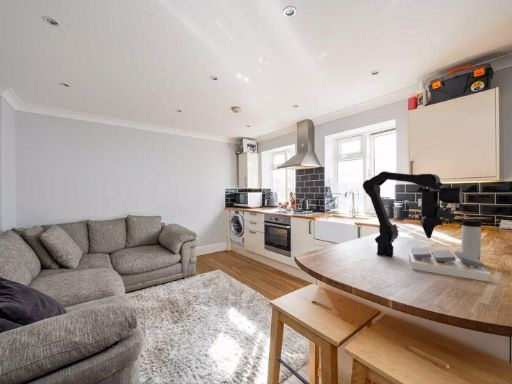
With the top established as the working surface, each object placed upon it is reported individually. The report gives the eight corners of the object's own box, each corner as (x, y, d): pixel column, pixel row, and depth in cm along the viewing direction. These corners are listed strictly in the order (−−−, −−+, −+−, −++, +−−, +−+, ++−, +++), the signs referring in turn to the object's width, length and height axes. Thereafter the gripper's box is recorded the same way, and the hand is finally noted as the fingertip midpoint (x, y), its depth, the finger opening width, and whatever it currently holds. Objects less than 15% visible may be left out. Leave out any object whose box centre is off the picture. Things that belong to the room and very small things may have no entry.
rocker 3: (461, 261, 84) (462, 258, 84) (454, 254, 93) (455, 251, 93) (482, 267, 81) (483, 264, 81) (472, 259, 90) (473, 256, 90)
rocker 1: (414, 257, 92) (413, 254, 92) (411, 251, 101) (411, 248, 101) (431, 257, 89) (430, 253, 89) (427, 250, 98) (426, 247, 98)
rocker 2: (436, 261, 88) (435, 257, 88) (431, 253, 97) (431, 250, 97) (455, 260, 85) (455, 257, 85) (449, 253, 94) (448, 250, 94)
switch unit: (411, 268, 90) (412, 259, 89) (408, 258, 102) (408, 250, 102) (490, 281, 77) (490, 270, 77) (475, 268, 90) (475, 258, 90)
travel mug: (485, 264, 95) (486, 219, 94) (467, 263, 96) (468, 219, 95) (473, 260, 101) (474, 217, 100) (457, 259, 102) (458, 217, 101)
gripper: (460, 204, 81) (459, 245, 81) (448, 202, 97) (447, 236, 97) (423, 203, 87) (422, 241, 87) (418, 201, 103) (417, 233, 103)
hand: (428, 238), depth 93 cm, fingers closed
